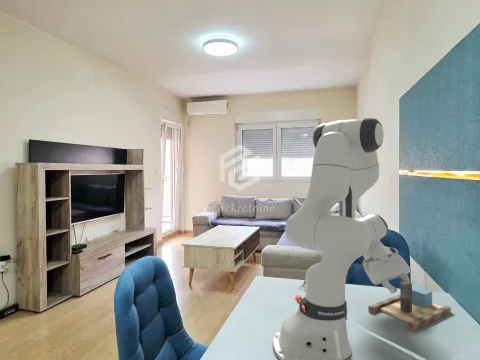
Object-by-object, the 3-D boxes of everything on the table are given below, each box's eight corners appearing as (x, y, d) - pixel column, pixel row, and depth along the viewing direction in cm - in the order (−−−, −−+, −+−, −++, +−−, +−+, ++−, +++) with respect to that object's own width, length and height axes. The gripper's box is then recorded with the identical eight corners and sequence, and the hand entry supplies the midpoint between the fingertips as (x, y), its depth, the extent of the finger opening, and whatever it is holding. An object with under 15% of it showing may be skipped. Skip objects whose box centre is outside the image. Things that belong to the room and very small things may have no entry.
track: (413, 334, 94) (413, 325, 94) (368, 313, 107) (368, 306, 107) (450, 314, 106) (450, 307, 106) (406, 299, 120) (406, 292, 119)
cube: (424, 308, 107) (424, 294, 107) (411, 303, 111) (410, 289, 111) (432, 304, 110) (432, 291, 110) (418, 300, 114) (418, 287, 114)
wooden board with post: (413, 325, 97) (413, 291, 97) (380, 310, 108) (380, 280, 107) (444, 310, 107) (444, 280, 107) (411, 298, 118) (411, 271, 118)
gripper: (365, 256, 108) (391, 291, 99) (398, 248, 118) (424, 279, 110) (355, 265, 111) (379, 300, 103) (387, 256, 122) (411, 287, 114)
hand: (402, 289), depth 107 cm, fingers open, 8 cm apart
